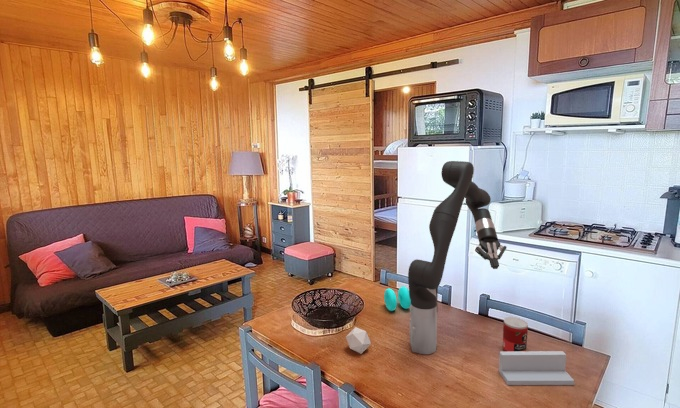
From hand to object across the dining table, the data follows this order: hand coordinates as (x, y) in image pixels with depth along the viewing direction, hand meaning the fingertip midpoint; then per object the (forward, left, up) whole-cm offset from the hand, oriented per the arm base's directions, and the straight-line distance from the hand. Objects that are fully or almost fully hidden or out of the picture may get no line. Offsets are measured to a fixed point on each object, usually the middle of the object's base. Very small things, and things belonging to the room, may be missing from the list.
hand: (495, 268), depth 146 cm
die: (-56, -19, -24) cm, 64 cm away
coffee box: (-24, +14, -24) cm, 37 cm away
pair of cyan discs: (-38, +14, -24) cm, 47 cm away
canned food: (0, -20, -24) cm, 31 cm away
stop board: (0, -35, -24) cm, 43 cm away
